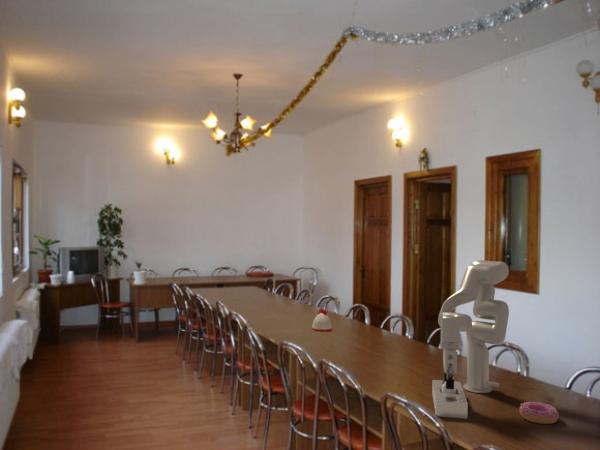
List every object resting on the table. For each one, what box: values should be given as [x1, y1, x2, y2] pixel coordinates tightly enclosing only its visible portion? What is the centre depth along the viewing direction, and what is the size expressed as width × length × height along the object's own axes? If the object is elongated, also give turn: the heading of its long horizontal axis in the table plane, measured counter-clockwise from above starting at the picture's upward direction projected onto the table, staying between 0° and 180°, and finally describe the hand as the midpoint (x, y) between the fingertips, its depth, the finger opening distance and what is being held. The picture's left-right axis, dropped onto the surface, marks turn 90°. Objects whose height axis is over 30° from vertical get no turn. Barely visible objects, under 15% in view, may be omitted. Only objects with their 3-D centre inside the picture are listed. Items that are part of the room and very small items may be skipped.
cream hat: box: [311, 308, 333, 333], centre depth 386 cm, size 14×14×15 cm
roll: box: [442, 382, 456, 394], centre depth 230 cm, size 6×12×6 cm
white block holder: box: [431, 379, 469, 420], centre depth 230 cm, size 12×30×6 cm, turn 169°
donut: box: [519, 401, 560, 425], centre depth 216 cm, size 14×14×5 cm
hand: (448, 385), depth 230 cm, fingers open, 9 cm apart
